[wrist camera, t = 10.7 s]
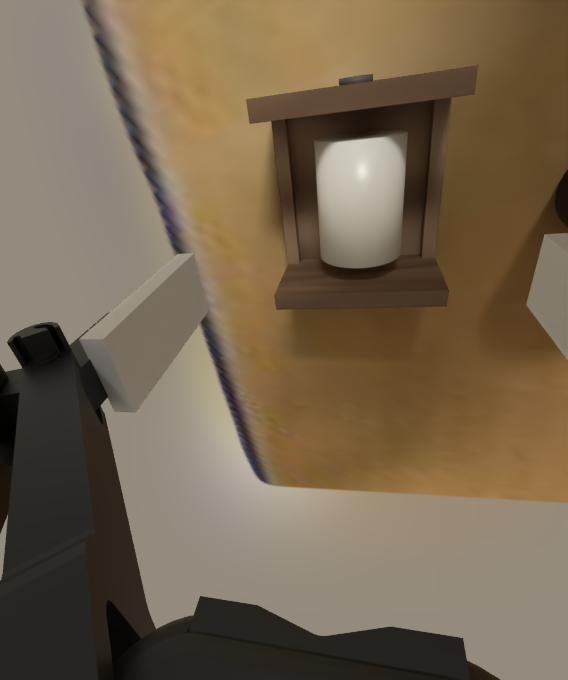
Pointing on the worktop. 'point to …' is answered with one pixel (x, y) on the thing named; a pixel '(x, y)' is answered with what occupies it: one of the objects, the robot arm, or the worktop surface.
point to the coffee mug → (562, 199)
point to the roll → (361, 197)
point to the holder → (419, 193)
